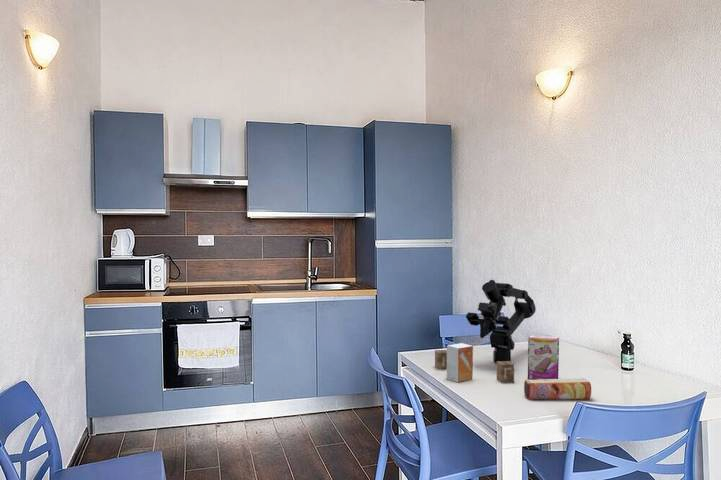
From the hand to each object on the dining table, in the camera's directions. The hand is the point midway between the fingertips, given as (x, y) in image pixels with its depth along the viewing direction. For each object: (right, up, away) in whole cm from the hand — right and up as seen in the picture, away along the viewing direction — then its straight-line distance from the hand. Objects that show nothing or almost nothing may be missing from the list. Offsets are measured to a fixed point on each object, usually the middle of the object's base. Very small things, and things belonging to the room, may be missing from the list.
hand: (481, 337), depth 215 cm
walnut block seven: (+6, -14, -14) cm, 21 cm away
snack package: (+18, -15, -34) cm, 42 cm away
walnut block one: (-15, -14, +5) cm, 21 cm away
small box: (-11, -14, -12) cm, 21 cm away
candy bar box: (+21, -14, -13) cm, 28 cm away
